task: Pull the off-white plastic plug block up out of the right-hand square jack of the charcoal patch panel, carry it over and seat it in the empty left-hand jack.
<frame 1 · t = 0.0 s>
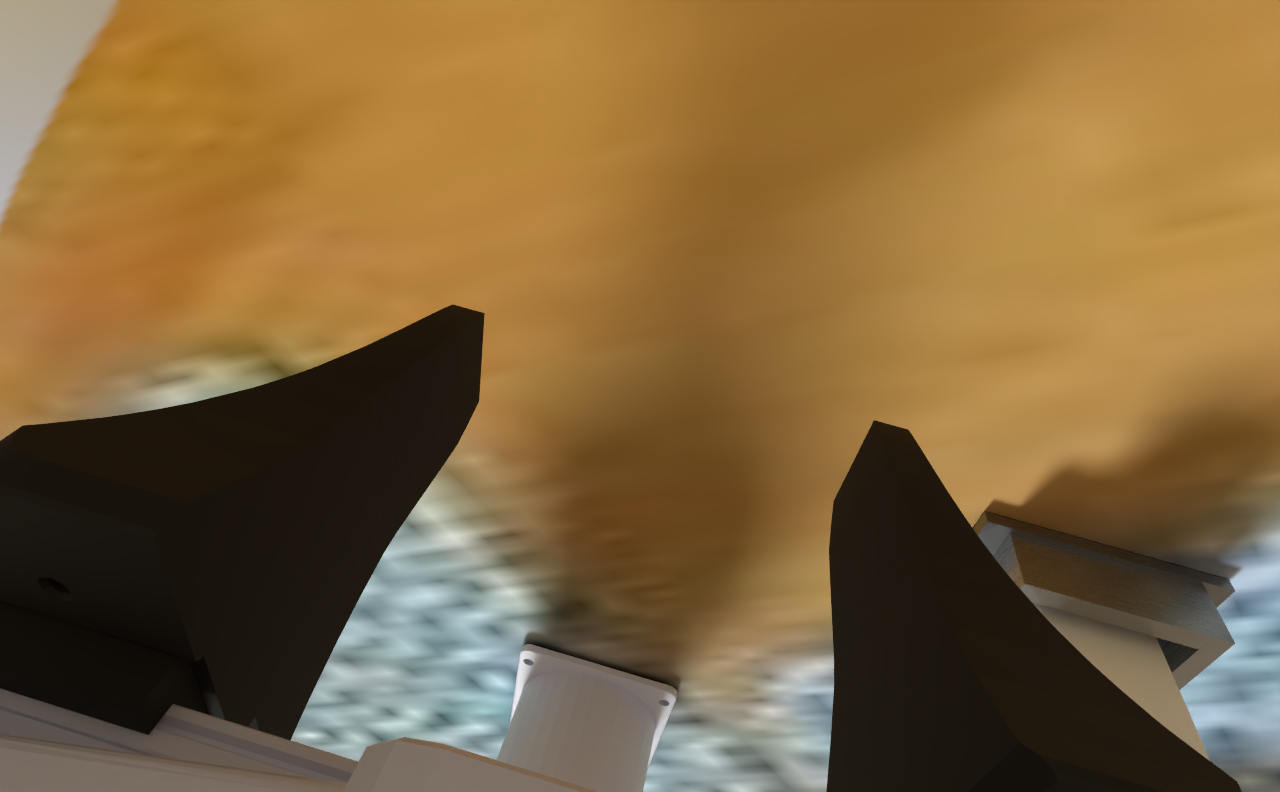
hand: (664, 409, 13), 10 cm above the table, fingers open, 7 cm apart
plug: (1054, 617, 27), resting on panel
panel: (1000, 664, 30), on the table
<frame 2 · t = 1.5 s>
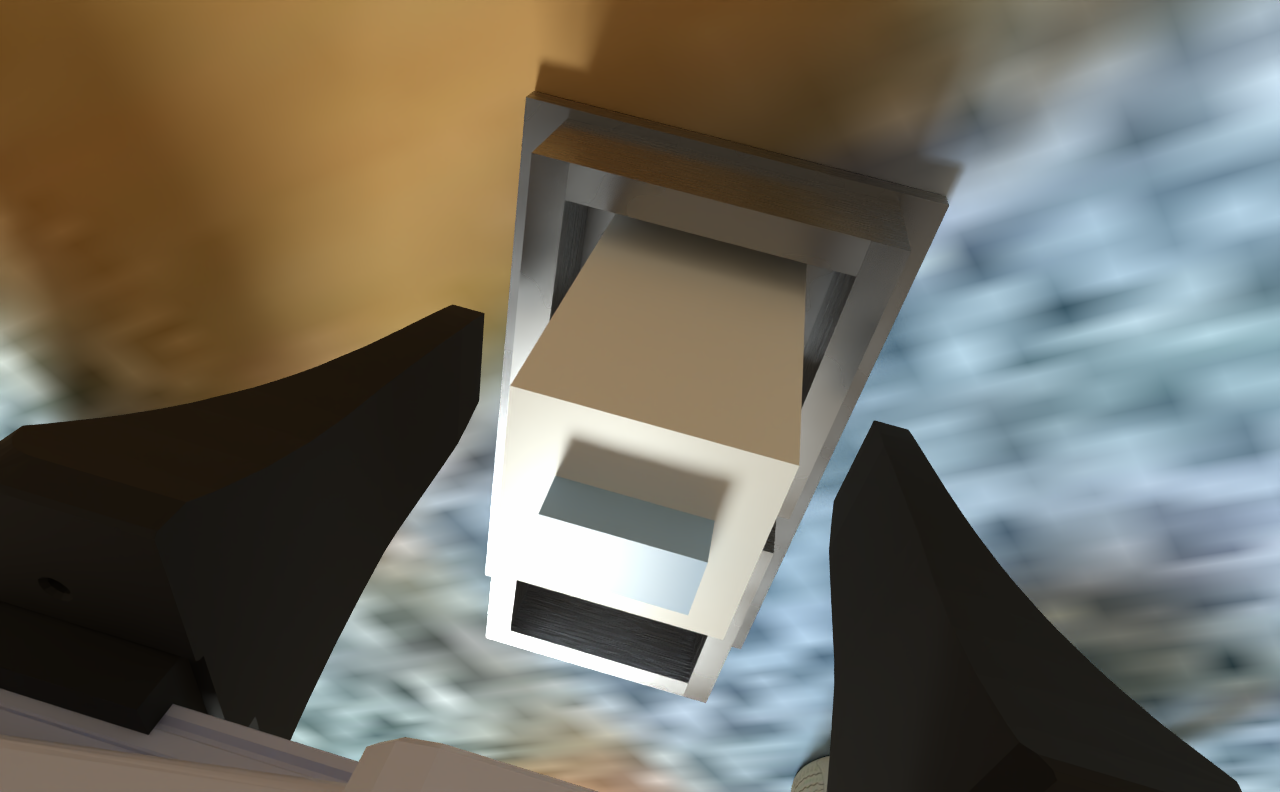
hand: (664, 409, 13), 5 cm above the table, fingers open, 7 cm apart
mug: (928, 784, 27), on the table
plug: (693, 305, 16), resting on panel
panel: (661, 425, 19), on the table
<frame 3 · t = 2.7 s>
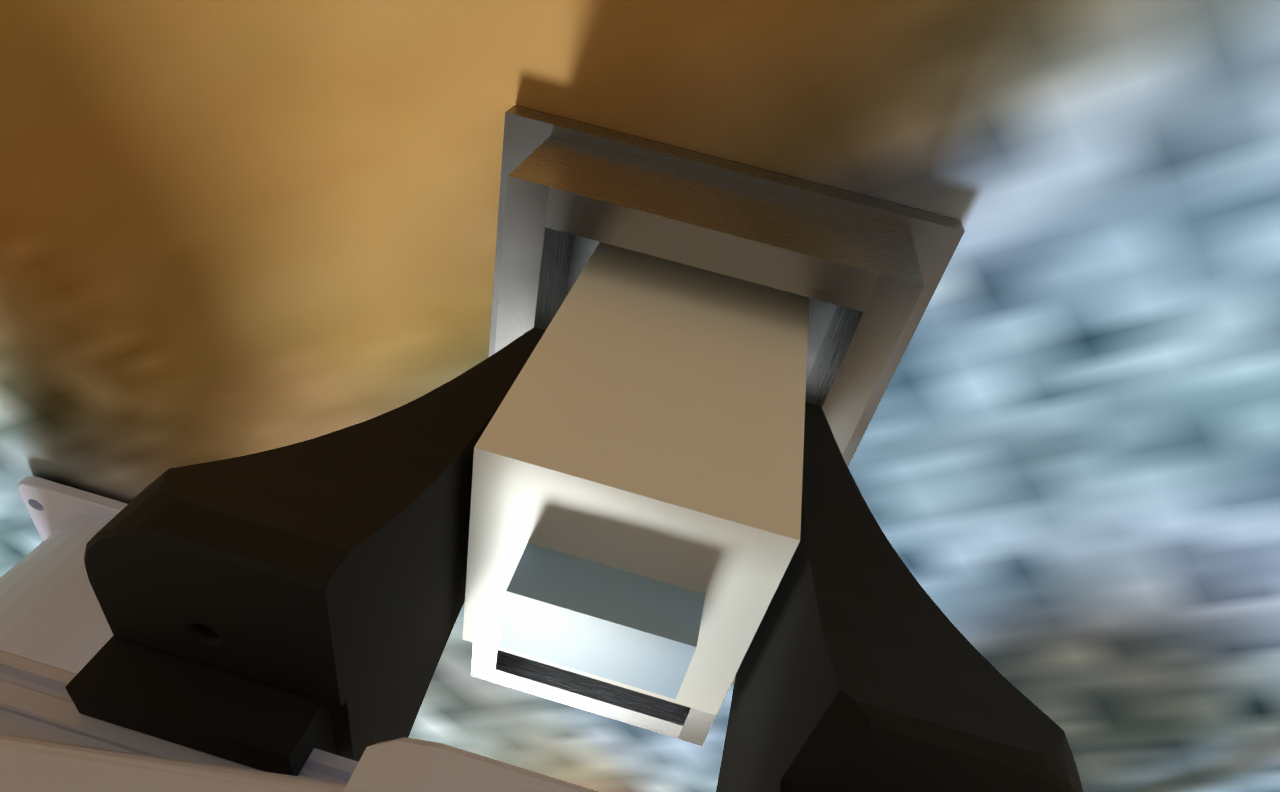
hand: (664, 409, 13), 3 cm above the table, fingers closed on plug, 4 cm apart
plug: (687, 334, 15), resting on panel, touching gripper
panel: (654, 456, 18), on the table
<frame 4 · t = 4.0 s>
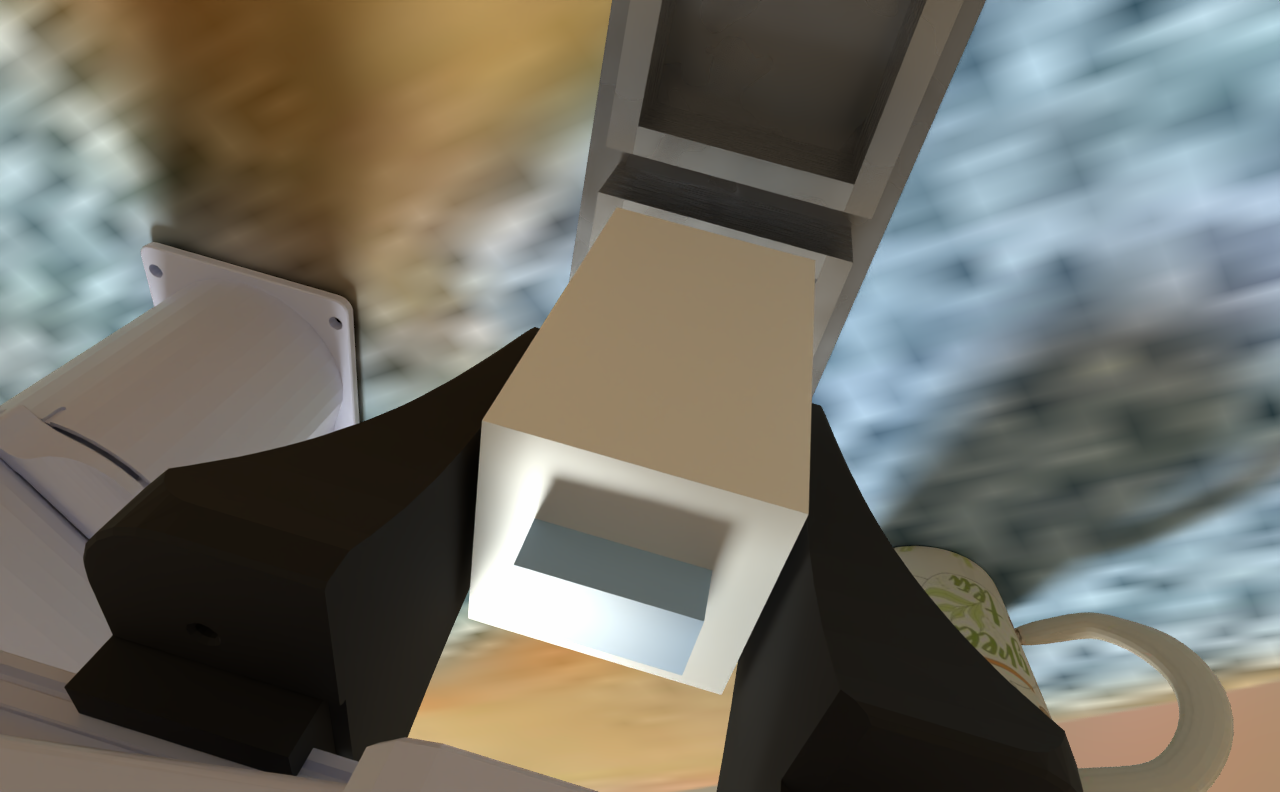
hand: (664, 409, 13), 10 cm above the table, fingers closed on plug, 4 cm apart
mug: (970, 583, 28), on the table
plug: (691, 319, 15), point 7 cm above the table, touching gripper
panel: (741, 169, 20), on the table
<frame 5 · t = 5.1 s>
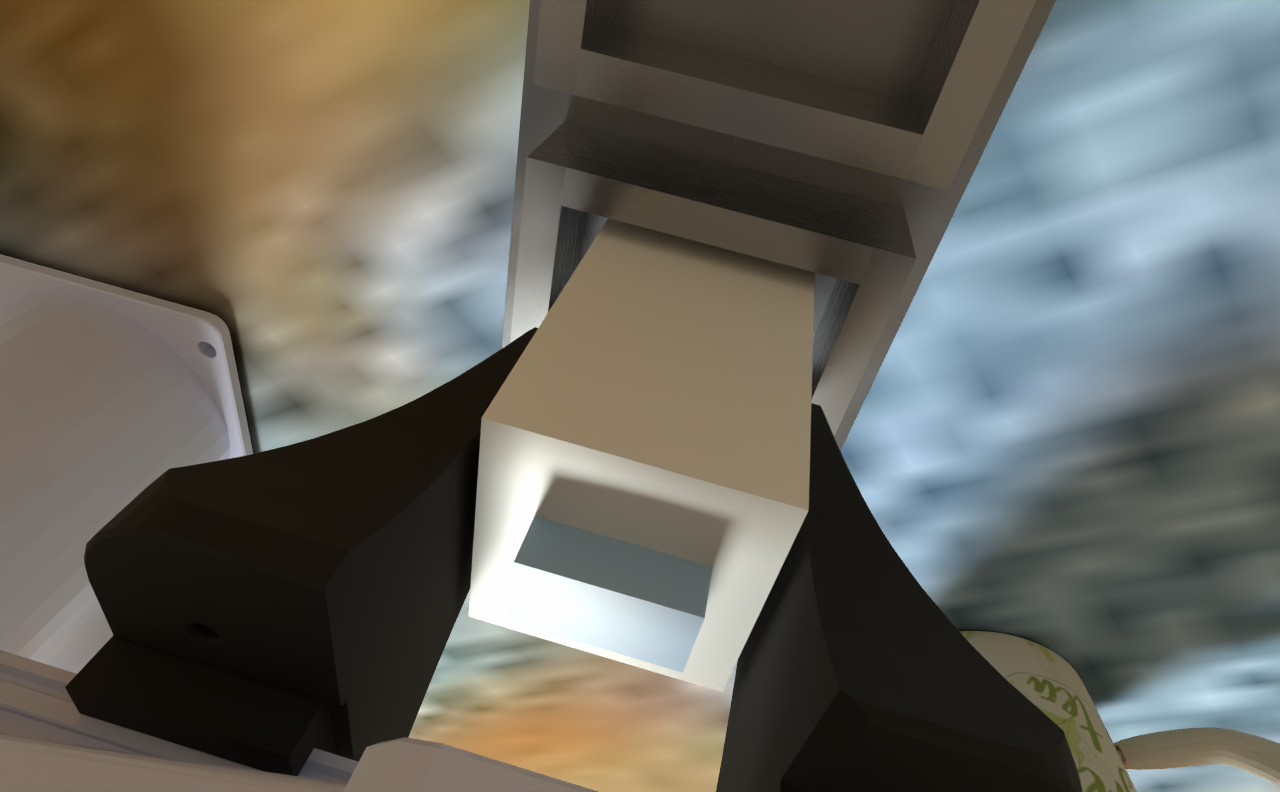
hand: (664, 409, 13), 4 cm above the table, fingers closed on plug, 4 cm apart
mug: (1045, 675, 22), on the table
plug: (691, 317, 15), point 1 cm above the table, touching gripper
panel: (742, 126, 14), on the table
when the fingers open (4 cm above the table, at t = 5.6 s): plug stays where it is, resting on panel.
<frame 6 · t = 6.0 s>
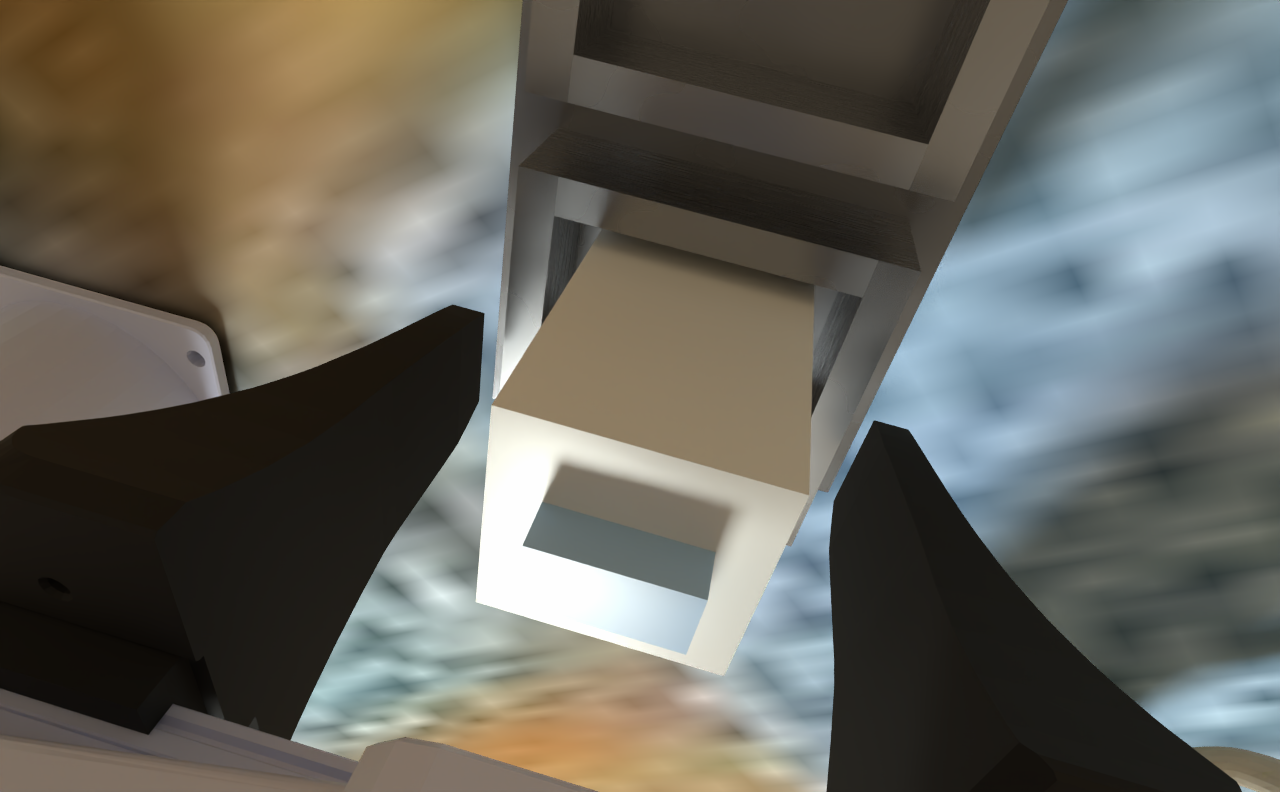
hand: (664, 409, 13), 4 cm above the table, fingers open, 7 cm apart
mug: (1050, 690, 21), on the table
plug: (693, 312, 16), resting on panel
panel: (742, 133, 14), on the table
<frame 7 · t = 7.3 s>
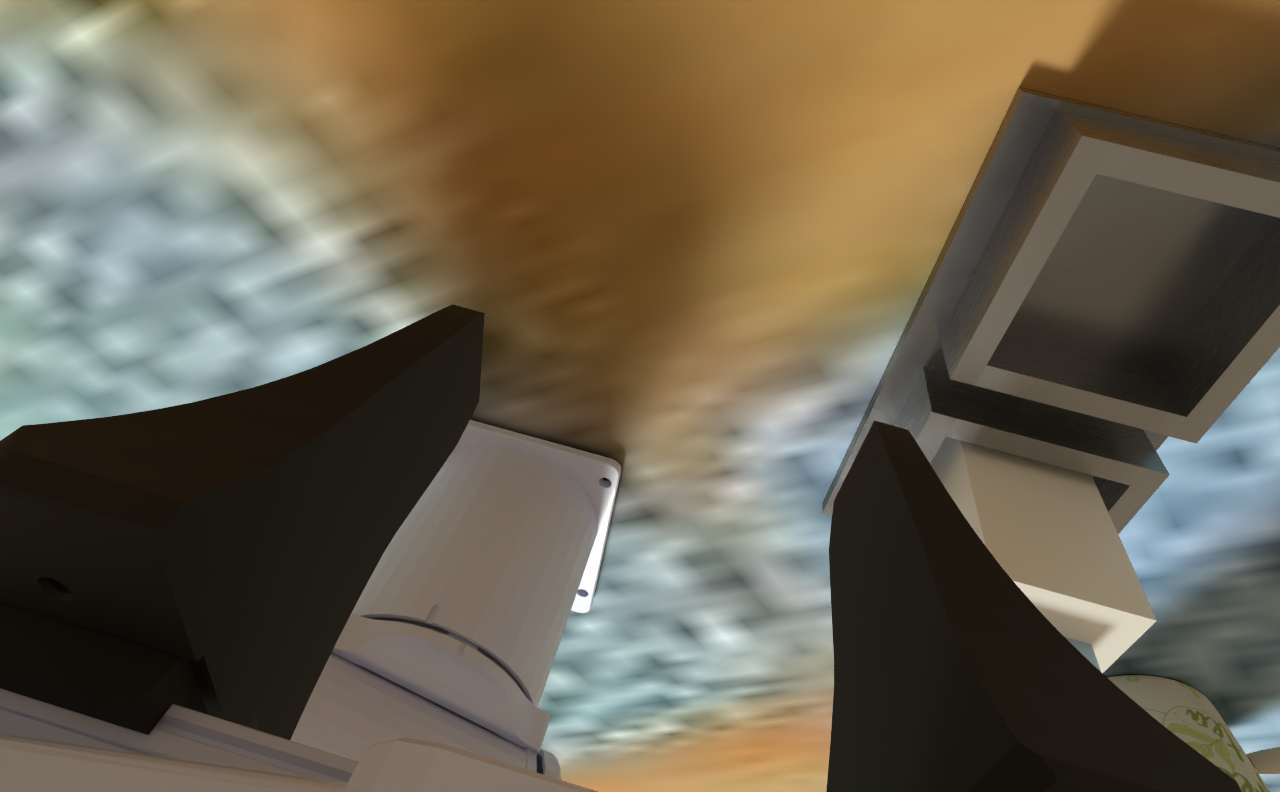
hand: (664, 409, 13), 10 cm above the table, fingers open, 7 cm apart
mug: (1186, 705, 30), on the table
plug: (984, 469, 24), resting on panel
panel: (1037, 372, 23), on the table
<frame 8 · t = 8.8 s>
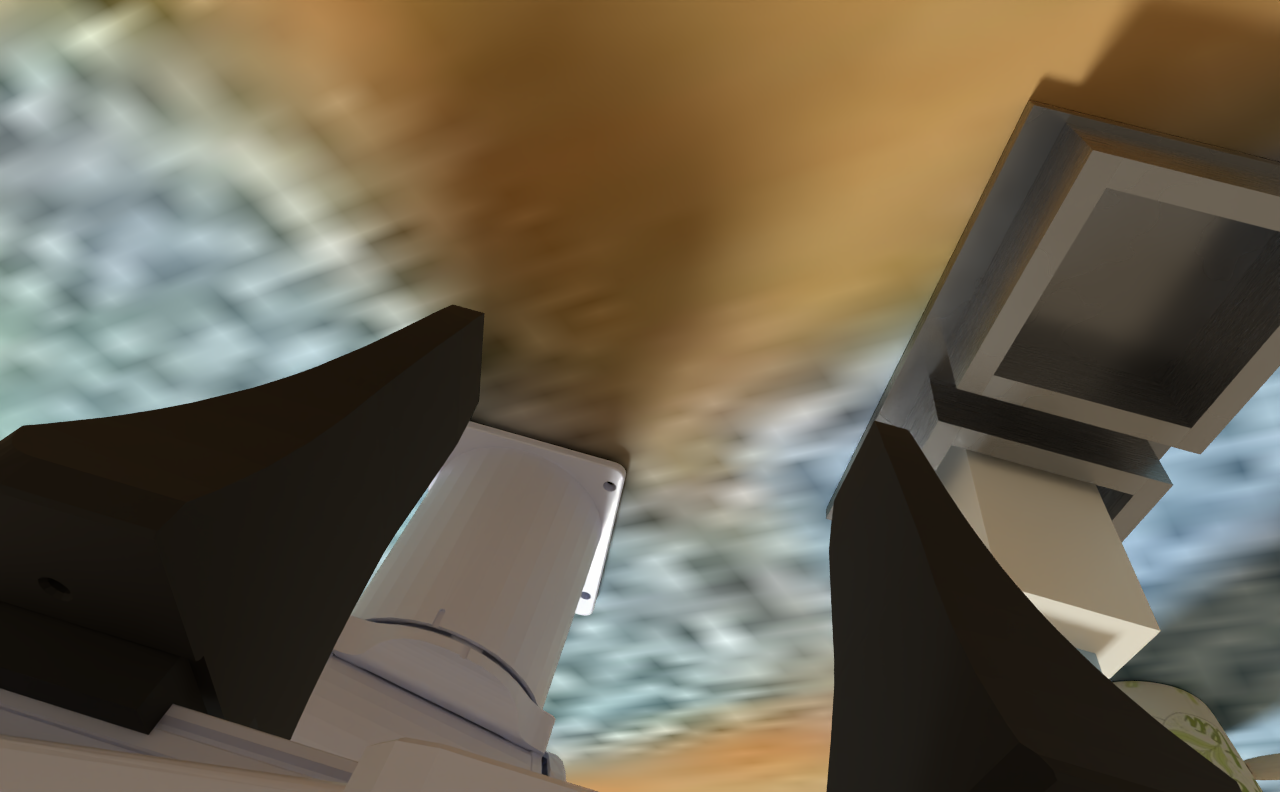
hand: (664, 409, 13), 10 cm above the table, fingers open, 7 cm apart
mug: (1184, 711, 30), on the table
plug: (988, 476, 25), resting on panel
panel: (1042, 381, 23), on the table
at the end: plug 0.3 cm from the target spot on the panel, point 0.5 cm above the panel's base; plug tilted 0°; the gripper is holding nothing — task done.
